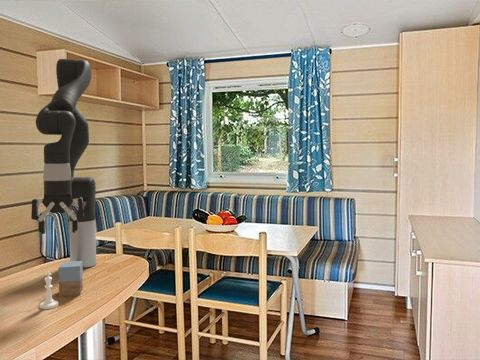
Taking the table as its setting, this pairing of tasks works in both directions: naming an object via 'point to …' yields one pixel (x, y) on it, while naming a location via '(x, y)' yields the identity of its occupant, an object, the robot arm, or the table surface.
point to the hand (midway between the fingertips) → (58, 232)
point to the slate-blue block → (70, 271)
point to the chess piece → (48, 294)
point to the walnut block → (70, 288)
